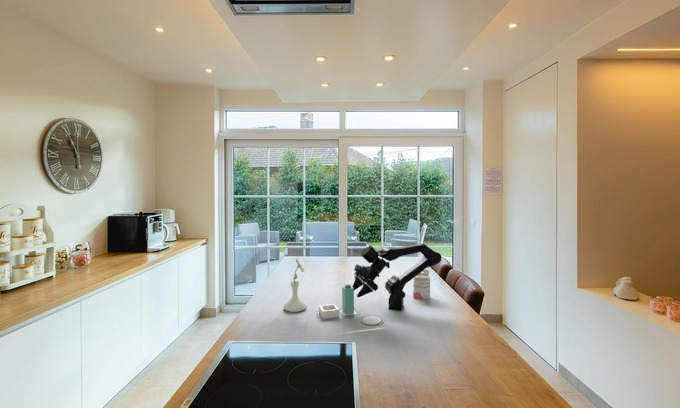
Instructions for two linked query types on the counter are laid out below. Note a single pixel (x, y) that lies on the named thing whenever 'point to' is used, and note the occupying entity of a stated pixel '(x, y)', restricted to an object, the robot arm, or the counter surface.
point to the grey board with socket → (334, 313)
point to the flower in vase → (295, 296)
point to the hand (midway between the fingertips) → (354, 293)
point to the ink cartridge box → (422, 285)
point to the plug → (347, 299)
